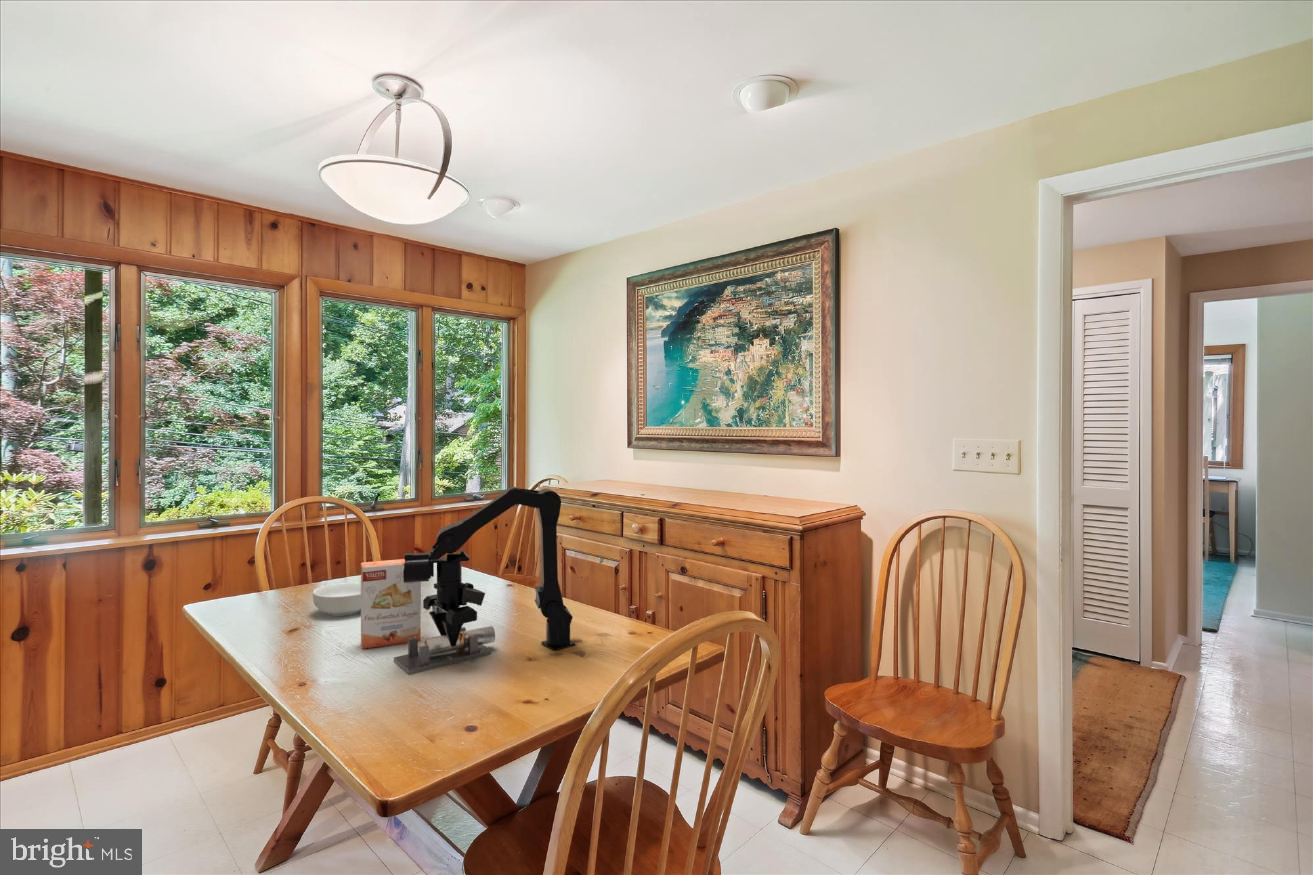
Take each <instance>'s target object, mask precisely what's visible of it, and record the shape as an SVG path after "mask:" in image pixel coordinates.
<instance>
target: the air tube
mask: <svg viewBox="0 0 1313 875" xmlns="http://www.w3.org/2000/svg"><path fill="white" fill-rule="evenodd" d="M475 634H477V635H478V645H487V644H491V643H495V640H496V630H495V627H494V626H493V625H490V626H483V627H478V628H473V629H469V630H466V631H461V632H460V634H459V637H458V640H457V643H456V646H453V647H452V646H451V645H450V643H449V640H448V637H447V635H442V636H441V635H438V636H434V637H433V636H432V637H427V638H425V640H424V646H426V645H428V646H429V656H430V655H435V654H439V653H444V652H449V651H454V650H460V649H464V648H468V636H470V635H475Z"/></svg>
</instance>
